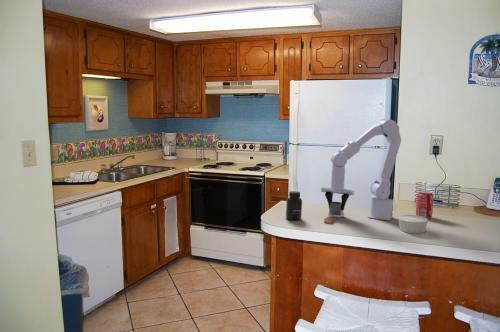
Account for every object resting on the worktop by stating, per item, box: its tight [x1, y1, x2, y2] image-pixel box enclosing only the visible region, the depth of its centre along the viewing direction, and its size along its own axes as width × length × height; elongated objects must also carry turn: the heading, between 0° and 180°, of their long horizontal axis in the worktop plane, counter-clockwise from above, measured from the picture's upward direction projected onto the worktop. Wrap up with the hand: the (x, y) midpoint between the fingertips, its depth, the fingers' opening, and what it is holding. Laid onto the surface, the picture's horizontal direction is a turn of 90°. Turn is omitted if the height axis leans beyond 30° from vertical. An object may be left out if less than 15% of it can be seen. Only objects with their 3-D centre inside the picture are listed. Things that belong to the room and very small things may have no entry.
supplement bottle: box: [285, 190, 303, 222], centre depth 182 cm, size 7×7×12 cm
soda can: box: [415, 190, 435, 220], centre depth 189 cm, size 7×7×12 cm
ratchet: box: [323, 212, 345, 225], centre depth 184 cm, size 16×7×4 cm, turn 152°
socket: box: [328, 200, 344, 215], centre depth 188 cm, size 5×5×4 cm
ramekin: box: [397, 214, 429, 235], centre depth 168 cm, size 11×11×5 cm
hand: (336, 209), depth 188 cm, fingers closed on socket, 5 cm apart
